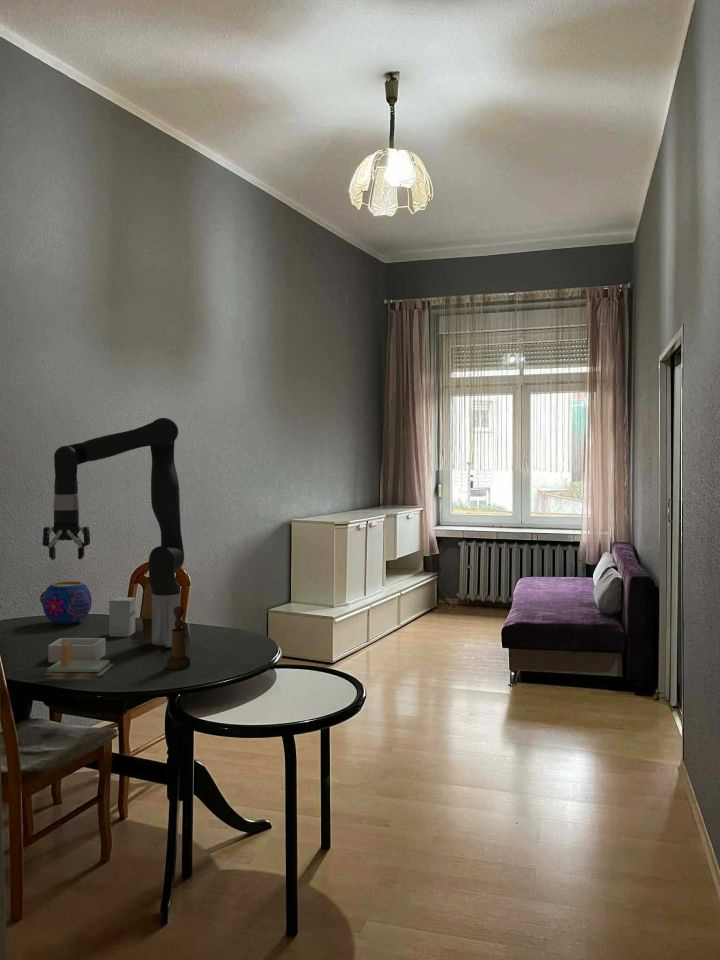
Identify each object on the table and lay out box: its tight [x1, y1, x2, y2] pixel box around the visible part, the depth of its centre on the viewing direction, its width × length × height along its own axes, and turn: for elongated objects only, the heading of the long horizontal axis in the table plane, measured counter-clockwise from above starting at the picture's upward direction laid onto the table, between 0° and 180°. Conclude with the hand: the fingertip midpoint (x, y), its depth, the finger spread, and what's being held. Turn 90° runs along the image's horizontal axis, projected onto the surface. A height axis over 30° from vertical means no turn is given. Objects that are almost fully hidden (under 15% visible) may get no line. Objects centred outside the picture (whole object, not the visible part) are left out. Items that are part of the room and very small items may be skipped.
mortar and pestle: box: [166, 605, 191, 670], centre depth 242 cm, size 7×6×18 cm
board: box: [43, 663, 114, 680], centre depth 235 cm, size 16×13×1 cm
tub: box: [47, 637, 107, 663], centre depth 248 cm, size 14×10×6 cm
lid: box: [46, 642, 111, 673], centre depth 235 cm, size 14×10×7 cm
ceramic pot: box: [39, 580, 93, 625], centre depth 305 cm, size 18×18×15 cm
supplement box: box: [108, 596, 136, 638], centre depth 286 cm, size 7×7×13 cm
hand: (66, 559), depth 260 cm, fingers open, 8 cm apart
